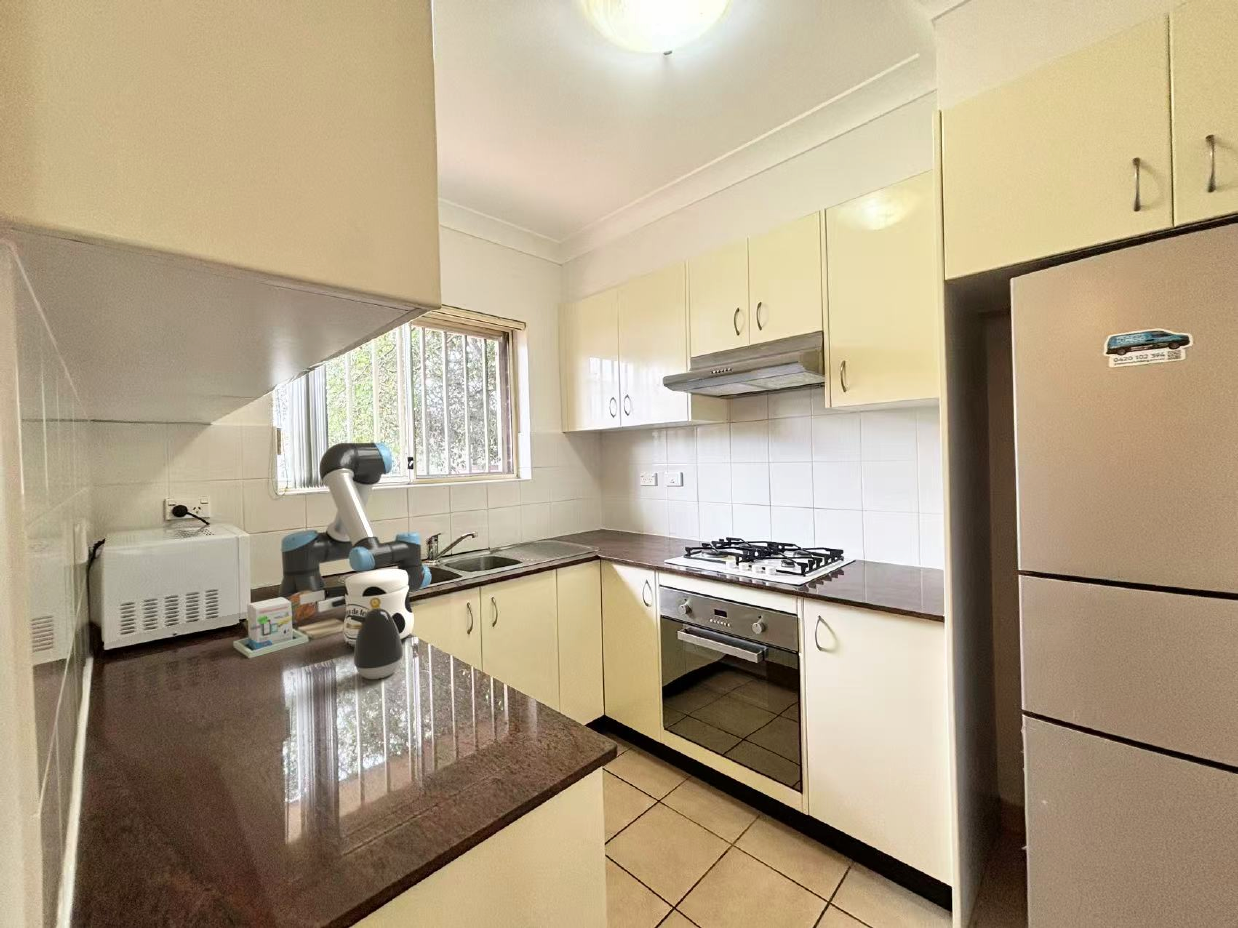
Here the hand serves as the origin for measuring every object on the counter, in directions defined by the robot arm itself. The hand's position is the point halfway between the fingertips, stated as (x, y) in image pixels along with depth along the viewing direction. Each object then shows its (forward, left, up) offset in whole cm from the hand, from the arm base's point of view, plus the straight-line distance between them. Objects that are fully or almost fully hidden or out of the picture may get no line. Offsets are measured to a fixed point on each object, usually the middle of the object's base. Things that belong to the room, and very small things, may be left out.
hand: (309, 603), depth 147 cm
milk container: (+24, +9, -9) cm, 27 cm away
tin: (-18, +3, -9) cm, 21 cm away
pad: (0, +4, -9) cm, 10 cm away
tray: (0, -10, -9) cm, 13 cm away
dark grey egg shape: (+45, -2, -9) cm, 46 cm away
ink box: (0, -10, -9) cm, 13 cm away
